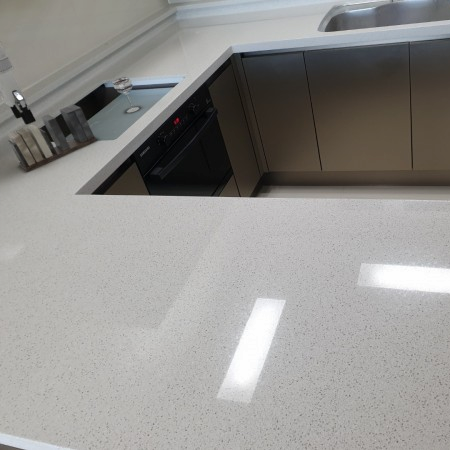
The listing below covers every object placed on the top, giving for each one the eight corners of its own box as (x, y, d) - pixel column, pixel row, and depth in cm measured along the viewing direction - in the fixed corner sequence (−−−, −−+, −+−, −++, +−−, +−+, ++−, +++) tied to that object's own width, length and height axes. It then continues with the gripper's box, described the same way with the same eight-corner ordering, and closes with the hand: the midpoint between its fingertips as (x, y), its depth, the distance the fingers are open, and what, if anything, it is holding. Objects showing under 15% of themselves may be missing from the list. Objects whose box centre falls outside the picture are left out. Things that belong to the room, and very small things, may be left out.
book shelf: (27, 171, 149) (7, 137, 142) (20, 165, 154) (0, 132, 147) (97, 140, 161) (81, 107, 154) (88, 136, 166) (72, 103, 159)
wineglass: (131, 106, 185) (119, 77, 178) (144, 106, 182) (133, 76, 175) (120, 113, 180) (108, 83, 173) (134, 113, 178) (122, 83, 171)
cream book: (46, 158, 152) (31, 130, 146) (40, 154, 156) (25, 126, 151) (53, 155, 153) (38, 127, 147) (46, 151, 157) (32, 124, 152)
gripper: (-23, 67, 141) (6, 119, 151) (-8, 74, 130) (22, 130, 140) (2, 59, 145) (29, 110, 155) (19, 65, 134) (46, 120, 144)
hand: (26, 119), depth 147 cm, fingers open, 9 cm apart
